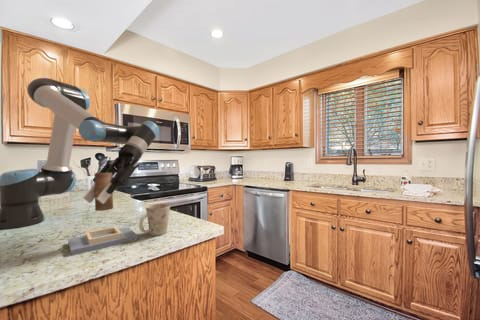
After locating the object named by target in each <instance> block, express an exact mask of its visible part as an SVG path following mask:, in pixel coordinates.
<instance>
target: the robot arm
mask: <svg viewBox="0 0 480 320" xmlns="http://www.w3.org/2000/svg"><path fill="white" fill-rule="evenodd" d="M26 91H27V95H28V97H29V98H30V100H32V101H33V102H34V103H35V104H37V105H38V106H40V107H43V108H46V109H48V110H50V111H52V113H53V114H54V116H53V122H52V128H51V135H50V140H49V146H48V147H49V148H48V153H47V157H46V163H45V164H43V165H41V169H40V171H39V170H38V169H37V168H28V169H26V168H25V169H18V170H10V171H6V172H3V173H1V174H0V230H5V229H6V230H8V229H9V230H10V229H16V228H23V227H28V226H29V227H30V226H33V225H36V224H39V223H43V221H44V220H45V215H44V212H43V210H42V209H41V207H40V204H39V197H47V196H53V195H61V194H65V193H69V192H70V191H72V190H73V189H74V188H75V185H76V184H77V176H76V173H75V172H74V171H73V168H72V167H71V166H70V163H71V162H70V161H71V158H72V157H71V156H72V149H73V145H74V139H75V133H76V129H77V130H78V135H80V138H81V139H83V140H85V141H88V142H93V143H94V142H95V143H110V144H118V145H122V147H121V148H120V149H119V151H118V156H117V157H116V158H115V159H114V160H110V159H109V160H107V161H106V162H105V165H104V166H103V167H102V168H101V169H100V170H99V171H98V173H112V177H113V176H114V177H113V178H112V181H111V180H110V181H111V182H112V183H111V182H109V183H108V184H107V186H106V187H105V188H104V189H103V191H102V192H101V193H100V195H99V196H98V197H97V198H96V199H97V200H98V201H99V202H101V203H102V204H104V203H105V201H106V200H107V199H108V197H109V196H110V195H111V194H112V193H114V192H115V191H116V189H118V188H119V187H120V186H122V187H123V186H125V184H126V183H127V182H128V180H129V179H130V178H131V176H132V175H133V173H134V172H135V171H136V170H137V168H139V166H140V163H139V161H140V160H141V158H142V156H143V155H144V154H145V152H146V151H147V149H148V148H149V147H150V146H151V144H152V143H153V142H154V141H155V140H156V139H157V136H158V134H159V132H160V129H159V127H158V125H157V124H156V123H155V122H153V121H151V120H145V121H143V122H142V123H141V124H140V125H134V126H133V125H131V126H130V125H129V126H127V125H120V124H114V123H110V122H105V121H102V120H101V119H99V118H98V117H96V116H95V115H94V114H92V113H91V112H89V111H88V110H89V109H90V106H91V101H90V99H91V98H90V96H89V94H88V92H87V91H85V89H83V88H81V87H79V86H77V85H72V84H69V83H66V82H62V81H58V80H55V79H52V78H47V77H39V78H35V79H33V80H31V81H30V83H29V84H28V85H27V90H26ZM92 182H93V183H94V184H93V185H92V186H91V188H89V191H87V192H86V193H85V195H84V196H83V198H82V199H83V200H85V201H86V202H87V203H89V204H92V202H93V201H94V200H95V176H94V178H92Z"/></svg>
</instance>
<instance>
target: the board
mask: <svg viewBox="0 0 480 320" xmlns="http://www.w3.org/2000/svg"><path fill="white" fill-rule="evenodd" d="M84 234H85V235H81V236H77V237H71V238H68V239H67V240H68V241H67V243H68V244H67V245H68V249H69V252H70V256H76V255H79V254H83V253H88V252H92V251H96V250H101V249H104V248H109V247H112V246H118V245H120V244H126V243H129V242H133V241H137V240H138V239H139V236H138V233H136V232H135V231H133V229H131V228H130V227H129V226H126V227H122V228H118V227H117V226H112V227H107V228H102V229H97V230H92V231H85V233H84Z"/></svg>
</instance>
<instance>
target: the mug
mask: <svg viewBox="0 0 480 320" xmlns="http://www.w3.org/2000/svg"><path fill="white" fill-rule="evenodd" d="M145 209H146V213H144V214H143V215H142V216H141V218H140V220H139V224H138V225H139V226H138V227H139V230H140V232H142V233H143V234H147V233H149V235H151V236H161V235H164V234H167V233H168V229H169V228H168V227H169V218H170V209H171V205H170V204H169V203H156V204H150V205H147V206H146V207H145ZM146 218H147V223H148V229H147V230H146V229H145V228H144V226H143V225H144V220H145V219H146Z"/></svg>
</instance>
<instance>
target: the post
mask: <svg viewBox="0 0 480 320" xmlns="http://www.w3.org/2000/svg"><path fill="white" fill-rule="evenodd" d="M94 177H95V182H94V184H95V198H94V207H95V209H94V211H97V212H100V211H101V212H102V211H109V210H113V209H114V198H113V197H114V195H113V193H114V192H113V193H112V194H111V195H110V196H109V197H108V199H107V200H106V201H105V203H104V204H102V203H101V202H99V201H98V200H97V199H96V198H97V197H98V196H99V195H100V193H101V192H102V191H103V189H104V188H105V187H106V186H107V184H108V183H109V182H111V181H112V180H113V176H112V173H99V172H95V173H94ZM110 180H111V181H110ZM111 183H112V182H111Z"/></svg>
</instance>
